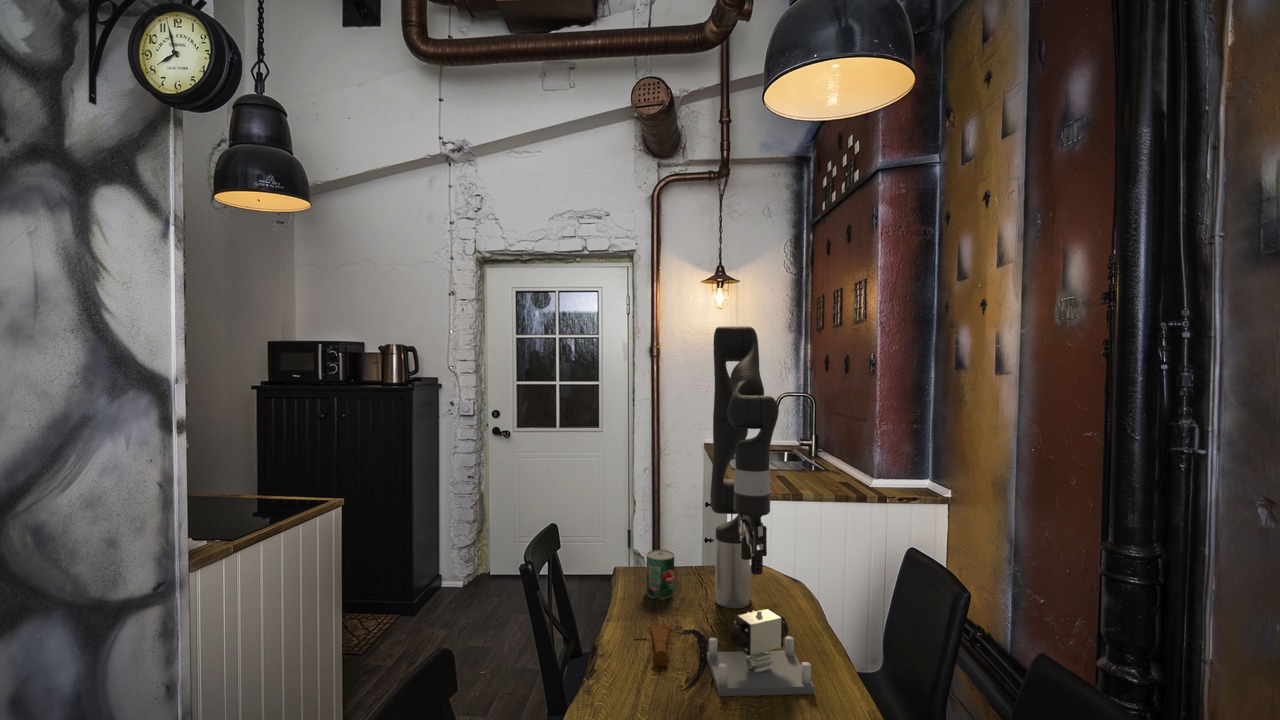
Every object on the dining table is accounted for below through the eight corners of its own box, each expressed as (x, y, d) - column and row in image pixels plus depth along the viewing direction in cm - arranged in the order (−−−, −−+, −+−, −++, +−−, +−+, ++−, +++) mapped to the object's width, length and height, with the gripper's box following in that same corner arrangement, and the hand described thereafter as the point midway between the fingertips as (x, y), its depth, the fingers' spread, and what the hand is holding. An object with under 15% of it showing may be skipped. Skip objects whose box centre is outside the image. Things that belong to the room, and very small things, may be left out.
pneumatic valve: (788, 668, 120) (789, 610, 120) (741, 680, 115) (742, 620, 115) (772, 655, 125) (772, 600, 125) (726, 667, 120) (727, 609, 120)
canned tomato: (674, 599, 158) (675, 559, 158) (646, 599, 158) (646, 559, 158) (673, 588, 165) (673, 550, 165) (646, 587, 166) (646, 549, 166)
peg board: (718, 696, 112) (719, 670, 112) (706, 658, 126) (706, 636, 126) (814, 693, 113) (814, 668, 113) (791, 657, 127) (792, 634, 127)
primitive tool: (648, 627, 142) (649, 613, 142) (670, 627, 142) (671, 613, 142) (652, 669, 123) (652, 652, 123) (677, 669, 123) (677, 653, 123)
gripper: (779, 498, 114) (779, 579, 115) (760, 482, 129) (759, 554, 129) (742, 498, 114) (741, 579, 114) (727, 482, 128) (726, 554, 128)
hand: (751, 566), depth 121 cm, fingers open, 8 cm apart
